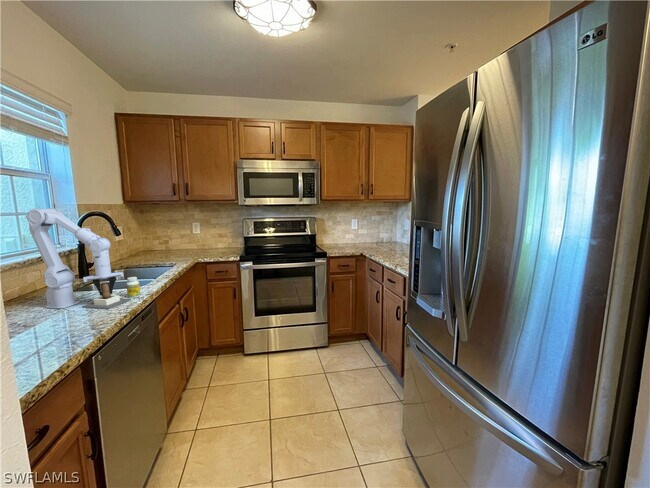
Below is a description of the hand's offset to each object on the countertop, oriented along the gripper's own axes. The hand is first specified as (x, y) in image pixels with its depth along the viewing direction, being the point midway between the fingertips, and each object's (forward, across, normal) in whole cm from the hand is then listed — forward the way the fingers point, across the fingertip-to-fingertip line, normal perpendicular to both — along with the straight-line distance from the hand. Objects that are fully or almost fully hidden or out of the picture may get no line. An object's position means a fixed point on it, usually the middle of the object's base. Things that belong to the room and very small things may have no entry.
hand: (106, 294), depth 137 cm
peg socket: (+4, 0, 0) cm, 4 cm away
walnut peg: (+3, 0, 0) cm, 3 cm away
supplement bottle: (+5, +11, +4) cm, 13 cm away
